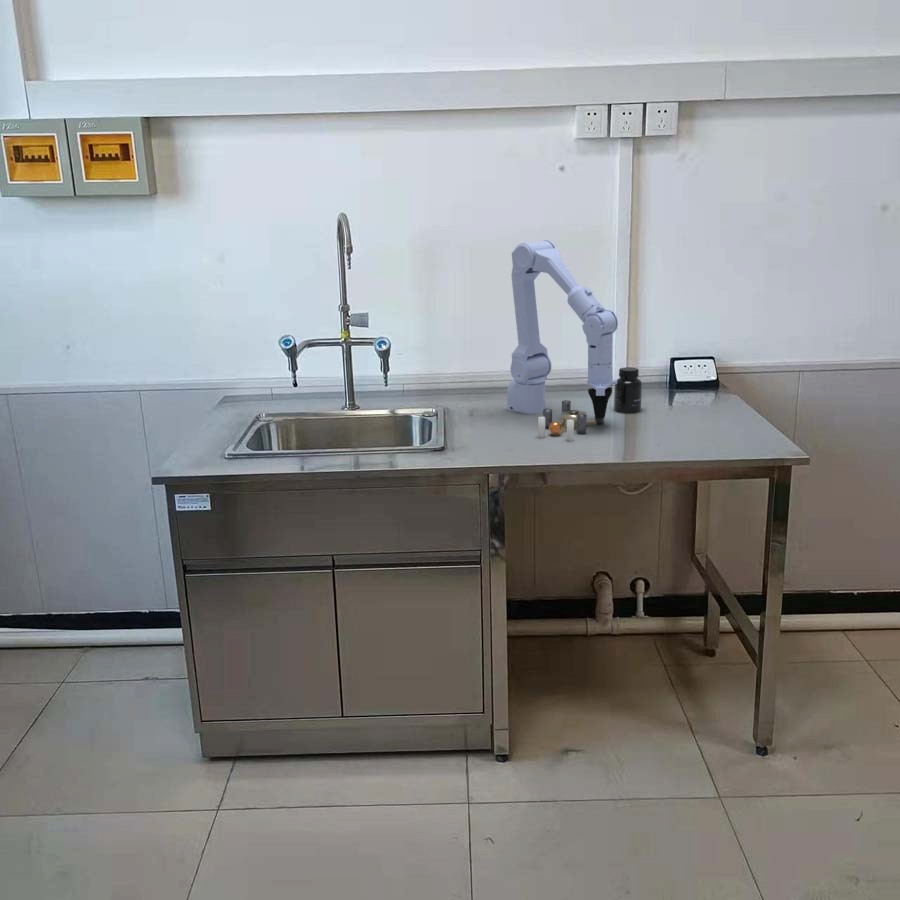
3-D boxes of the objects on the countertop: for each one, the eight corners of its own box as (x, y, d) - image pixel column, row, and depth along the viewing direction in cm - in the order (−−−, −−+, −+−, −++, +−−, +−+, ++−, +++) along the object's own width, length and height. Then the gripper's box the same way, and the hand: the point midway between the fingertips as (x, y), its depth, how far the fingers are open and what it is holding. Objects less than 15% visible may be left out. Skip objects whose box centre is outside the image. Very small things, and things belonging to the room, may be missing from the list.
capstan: (550, 437, 206) (550, 419, 205) (534, 419, 220) (534, 402, 219) (614, 432, 208) (614, 414, 207) (594, 414, 223) (594, 398, 221)
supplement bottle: (641, 418, 223) (642, 372, 219) (613, 418, 224) (614, 371, 220) (640, 411, 229) (642, 366, 225) (614, 410, 230) (615, 365, 227)
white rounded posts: (537, 438, 206) (537, 417, 205) (548, 431, 211) (549, 411, 209) (570, 443, 202) (570, 422, 200) (581, 436, 206) (582, 416, 205)
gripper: (618, 368, 201) (617, 426, 205) (616, 356, 215) (615, 410, 219) (587, 369, 202) (587, 426, 206) (587, 356, 216) (587, 410, 220)
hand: (599, 418), depth 213 cm, fingers closed
